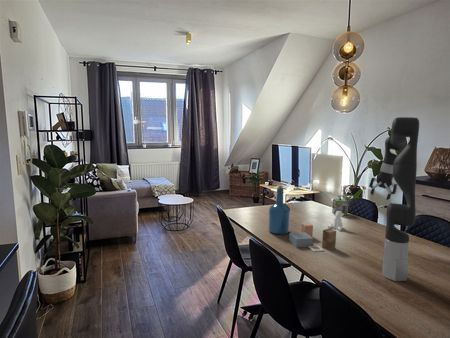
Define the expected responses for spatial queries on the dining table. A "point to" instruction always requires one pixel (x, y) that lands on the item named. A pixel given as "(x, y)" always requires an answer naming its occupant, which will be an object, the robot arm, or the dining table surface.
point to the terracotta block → (307, 228)
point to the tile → (315, 248)
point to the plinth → (301, 239)
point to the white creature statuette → (337, 221)
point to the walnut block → (329, 239)
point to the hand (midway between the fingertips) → (379, 197)
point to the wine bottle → (279, 215)
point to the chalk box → (340, 206)
